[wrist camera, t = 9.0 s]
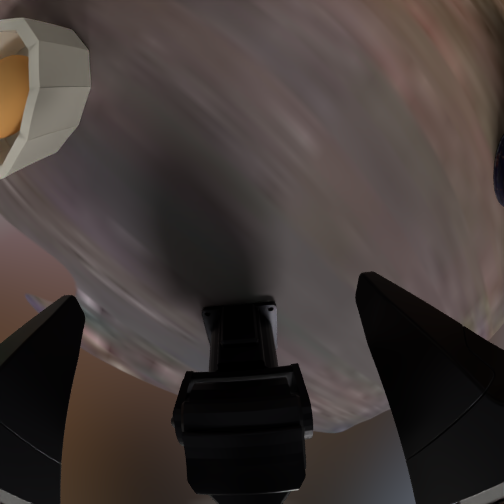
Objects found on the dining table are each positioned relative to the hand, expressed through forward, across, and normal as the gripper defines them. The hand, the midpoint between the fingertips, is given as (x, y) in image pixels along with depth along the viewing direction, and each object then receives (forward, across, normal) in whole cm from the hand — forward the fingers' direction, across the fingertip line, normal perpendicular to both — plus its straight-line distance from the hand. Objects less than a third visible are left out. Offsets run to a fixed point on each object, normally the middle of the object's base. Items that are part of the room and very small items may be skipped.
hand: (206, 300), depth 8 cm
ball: (+8, +14, -10) cm, 19 cm away
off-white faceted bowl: (+12, +14, -10) cm, 21 cm away
